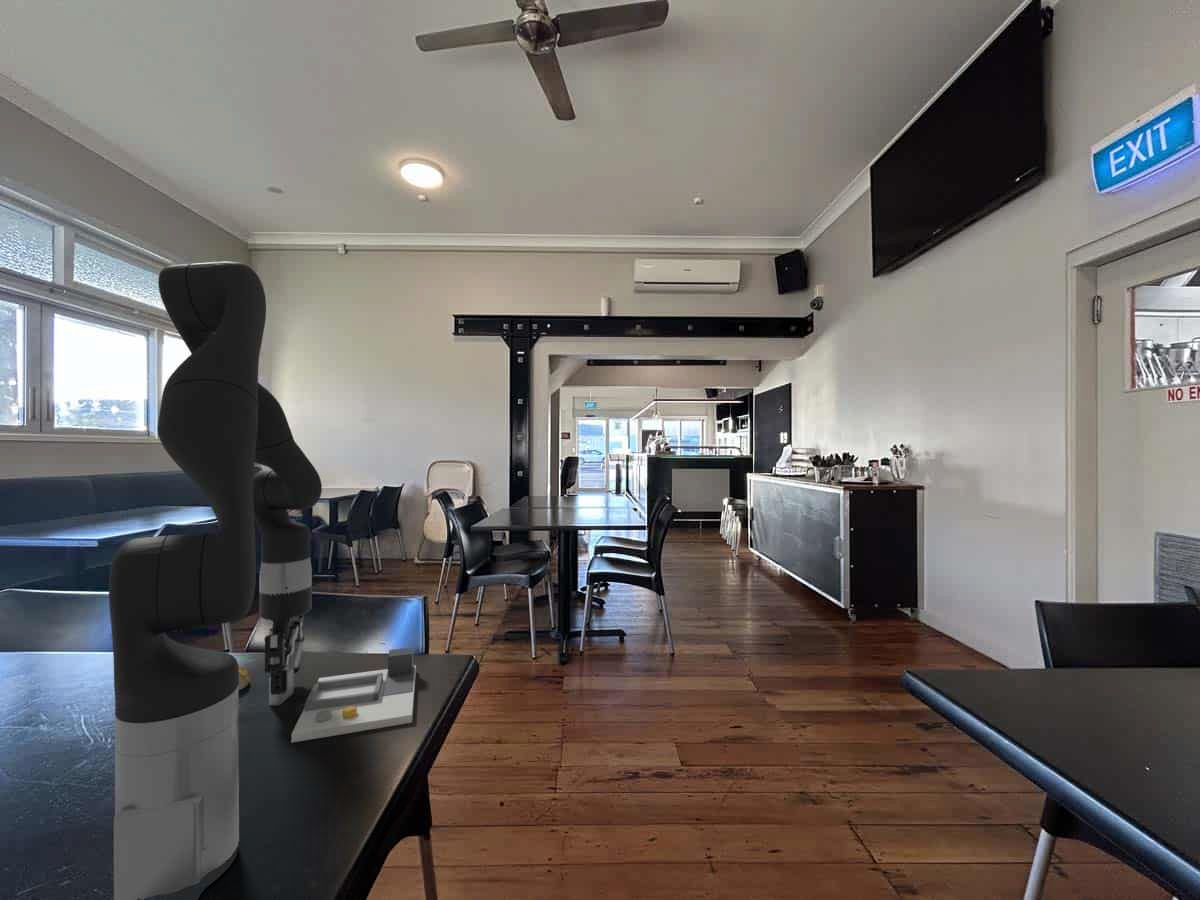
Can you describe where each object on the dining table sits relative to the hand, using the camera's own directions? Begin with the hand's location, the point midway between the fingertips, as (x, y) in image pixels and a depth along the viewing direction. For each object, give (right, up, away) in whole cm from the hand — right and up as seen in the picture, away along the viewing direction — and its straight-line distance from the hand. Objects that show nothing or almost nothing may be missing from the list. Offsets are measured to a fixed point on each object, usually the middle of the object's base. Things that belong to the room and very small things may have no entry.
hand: (285, 682), depth 83 cm
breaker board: (+14, -2, -3) cm, 15 cm away
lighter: (0, -2, 0) cm, 2 cm away
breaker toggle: (+17, -1, +6) cm, 18 cm away
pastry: (-12, -2, +3) cm, 13 cm away
